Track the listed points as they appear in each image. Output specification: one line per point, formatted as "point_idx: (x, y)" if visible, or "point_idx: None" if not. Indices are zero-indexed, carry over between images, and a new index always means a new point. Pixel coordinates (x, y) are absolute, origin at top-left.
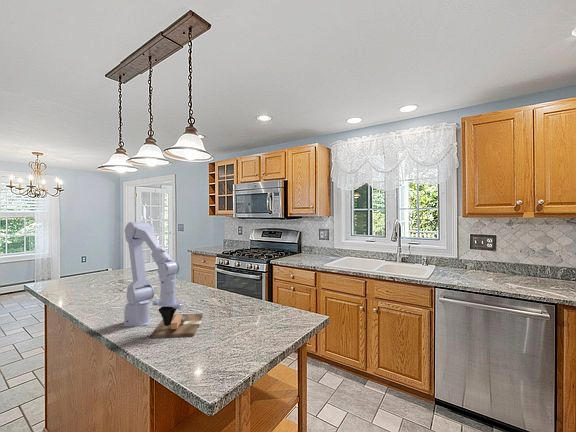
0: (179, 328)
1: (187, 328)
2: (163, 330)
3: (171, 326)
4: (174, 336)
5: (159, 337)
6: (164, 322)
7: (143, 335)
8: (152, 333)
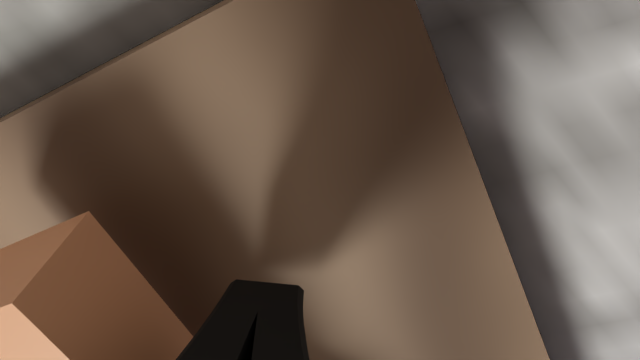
0: None
1: None
2: (290, 197)
3: (46, 249)
4: (8, 115)
5: (224, 2)
6: (275, 328)
7: (635, 3)
8: (399, 9)
